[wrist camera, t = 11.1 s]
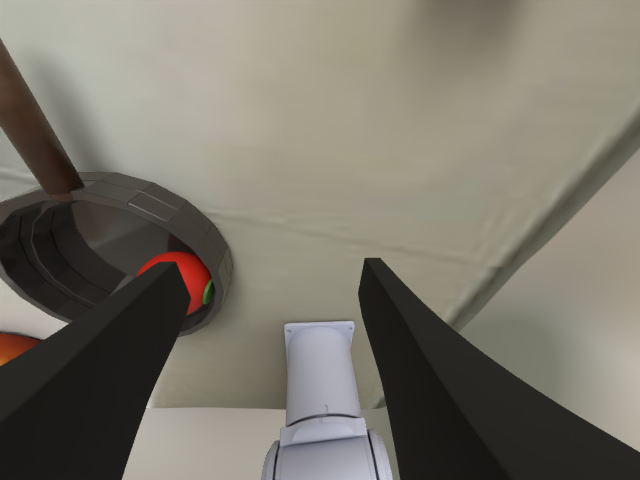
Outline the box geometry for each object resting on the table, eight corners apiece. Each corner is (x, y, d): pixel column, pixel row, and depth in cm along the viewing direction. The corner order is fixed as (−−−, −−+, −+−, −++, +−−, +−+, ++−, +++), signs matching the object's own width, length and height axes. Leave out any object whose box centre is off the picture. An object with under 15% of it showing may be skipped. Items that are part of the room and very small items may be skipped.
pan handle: (98, 196, 14) (78, 208, 13) (70, 195, 14) (47, 208, 13) (-34, -44, 9) (-92, -64, 7) (-83, -47, 9) (-151, -69, 7)
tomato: (166, 270, 21) (223, 282, 22) (128, 323, 17) (199, 336, 18) (153, 230, 18) (222, 247, 18) (103, 286, 14) (192, 304, 15)
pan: (244, 305, 24) (237, 336, 21) (97, 310, 23) (68, 344, 20) (213, 170, 16) (194, 191, 13) (-18, 167, 15) (-93, 190, 12)
